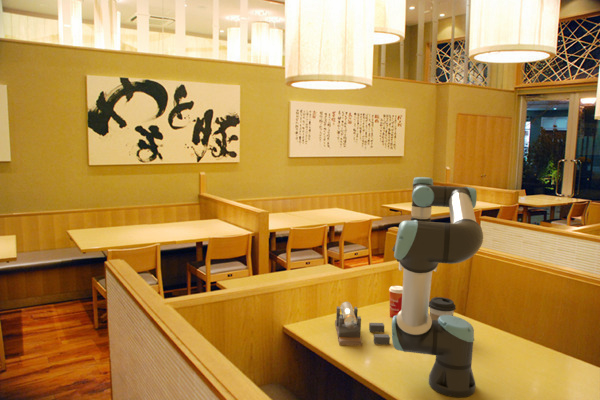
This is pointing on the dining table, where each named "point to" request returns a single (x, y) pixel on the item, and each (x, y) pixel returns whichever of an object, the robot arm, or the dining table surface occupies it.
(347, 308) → the silver metal cylinder
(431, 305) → the coffee cup
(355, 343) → the dark grey notched piece
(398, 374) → the dining table surface
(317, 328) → the dining table surface
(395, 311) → the paper cup
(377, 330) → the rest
